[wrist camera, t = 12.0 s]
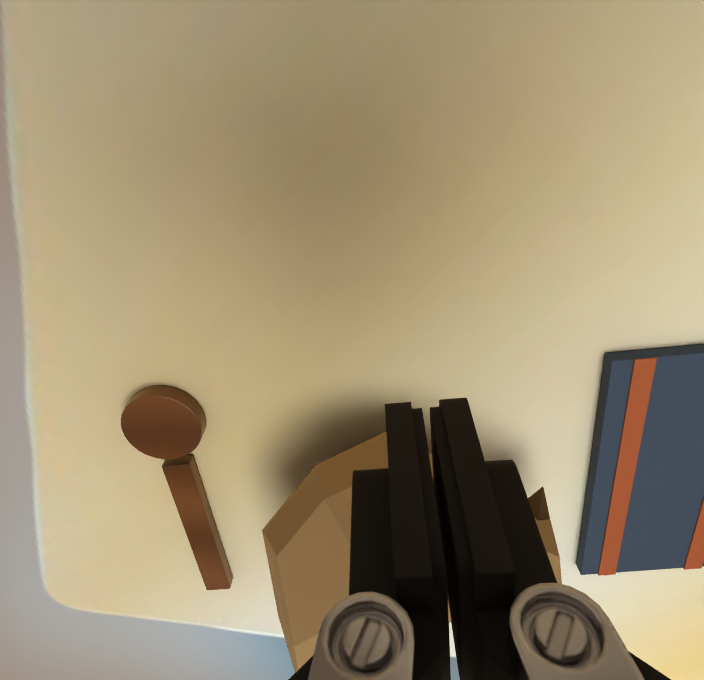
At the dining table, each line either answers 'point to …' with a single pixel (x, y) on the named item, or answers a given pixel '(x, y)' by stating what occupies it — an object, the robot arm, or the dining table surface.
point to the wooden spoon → (179, 468)
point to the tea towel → (646, 464)
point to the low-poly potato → (334, 544)
